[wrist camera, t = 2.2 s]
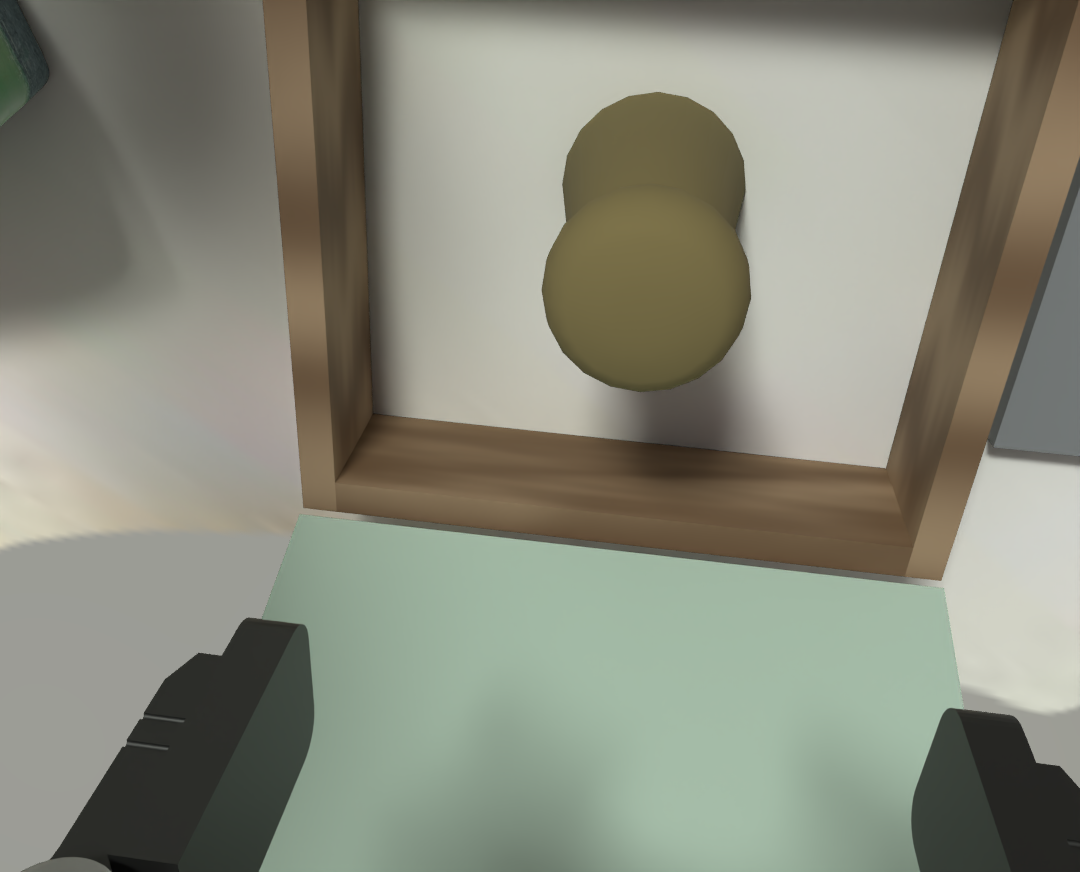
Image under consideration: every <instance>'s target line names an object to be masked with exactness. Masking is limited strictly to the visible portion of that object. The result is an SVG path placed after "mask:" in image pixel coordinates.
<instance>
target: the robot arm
mask: <svg viewBox="0 0 1080 872" xmlns="http://www.w3.org/2000/svg"><path fill="white" fill-rule="evenodd" d="M313 726H314V697H313V684H312V672H311V660H310V647H309V636H308V631H307V628H306V626H305V625H303V624H296V623H288V622H280V621H272V620H264V619H256V618H246V619H245V620H243V622H242V623H241V624H240V625H239V627H238V629H237V630H236V632H235V634H234V636H233V637H232V639H231V641H230V643H229V644H228V646H227V648H226V649H225V651H224V653H223V655H222V656H218V655H211V654H204V653H198V654H197V655H195V656H194V657H193V658H192V659H190V660H189V661H188V662H187V663H185V664H184V665H183V666H182V667H180V668H179V669H178V670H176V671H175V672H174V673H173V674H171V675H170V676H169V677H168V678H166V679H165V680H164V682H163V683H162V685H161V686H160V688H159V690H158V691H157V693H156V694H155V696H154V698H153V699H152V701H151V702H150V704H149V706H148V707H147V709H146V710H145V712H144V717H143V719H140V720H139V721H138V723H137V725H136V726H135V728H134V729H133V731H132V733H131V734H130V736H129V737H128V739H127V744H126V746H125V747H122V748H121V750H120V752H119V753H118V755H117V756H116V758H115V760H114V761H113V763H112V764H111V766H110V768H109V769H108V771H107V772H106V774H105V775H104V777H103V779H102V780H101V782H100V783H99V785H98V786H97V788H96V790H95V791H94V793H93V794H92V796H91V798H90V799H89V801H88V802H87V804H86V806H85V807H84V809H83V810H82V812H81V813H80V815H79V817H78V818H77V820H76V822H75V823H74V825H73V826H72V828H71V829H70V831H69V832H68V834H67V836H66V837H65V839H64V840H63V842H62V844H61V845H60V847H59V848H58V850H57V851H56V852H55V854H54V855H53V857H52V858H51V859H50V860H48V861H45V862H41V863H38V864H36V865H34V866H31V867H29V868H27V869H25V870H23V871H21V872H259V870H260V868H261V865H262V863H263V861H264V858H265V856H266V853H267V851H268V849H269V846H270V844H271V841H272V839H273V837H274V834H275V832H276V829H277V827H278V825H279V822H280V820H281V817H282V815H283V813H284V810H285V808H286V805H287V803H288V801H289V798H290V796H291V793H292V791H293V788H294V786H295V784H296V781H297V779H298V776H299V774H300V772H301V769H302V767H303V764H304V762H305V759H306V757H307V754H308V751H309V747H310V743H311V738H312V733H313ZM911 829H912V839H913V844H914V849H915V853H916V857H917V861H918V866H919V870H920V872H1080V788H1079V787H1078V786H1077V785H1076V784H1075V783H1074V782H1073V780H1072V779H1071V778H1070V777H1069V776H1068V775H1067V774H1066V773H1065V771H1064V770H1063V769H1062V768H1061V767H1060V766H1055V765H1047V764H1040V763H1036V761H1035V759H1034V756H1033V754H1032V751H1031V749H1030V746H1029V744H1028V741H1027V738H1026V736H1025V733H1024V731H1023V729H1022V727H1021V724H1020V723H1019V721H1018V720H1017V719H1016V718H1015V717H1014V716H1011V715H1004V714H996V713H987V712H980V711H972V710H964V709H956V708H948V709H946V711H945V712H944V713H943V715H942V717H941V719H940V722H939V725H938V727H937V730H936V733H935V736H934V738H933V741H932V744H931V747H930V750H929V752H928V755H927V758H926V761H925V764H924V766H923V769H922V772H921V775H920V777H919V780H918V783H917V786H916V789H915V792H914V796H913V802H912V811H911Z"/></svg>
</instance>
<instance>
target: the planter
mask: <svg viewBox="0 0 1080 872" xmlns="http://www.w3.org/2000/svg"><path fill="white" fill-rule="evenodd" d="M48 77H49V69H48V66H47V63H46V60H45V58H44V56H43V54H42V52H41V50H40V48H39V46H38V44H37V42H36V40H35V37H34V35H33V33H32V31H31V29H30V27H29V25H28V23H27V21H26V19H25V17H24V15H23V13H22V11H21V9H20V7H19V5H18V3H17V1H16V0H0V126H1V125H3V124H4V123H5V122H6V121H7V120H8V119H9V118H10V117H11V116H13V115H14V114H15V113H16V112H17V111H18V110H19V109H20V108H21V107H22V106H23V105H25V104H26V103H27V102H28V101H29V100H30V99H31V98H32V97H33V96H34V95H35V94H36V93H37V92H38V91H39V90H40V89H41V88H42V87H43V86H44V85H45V84H46V82H47V80H48Z"/></svg>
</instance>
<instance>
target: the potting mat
mask: <svg viewBox="0 0 1080 872" xmlns="http://www.w3.org/2000/svg"><path fill="white" fill-rule="evenodd" d="M988 438H989V440H990V442H991V444H992V446H993V447H994V448H1004V449H1014V450H1023V451H1033V452H1042V453H1052V454H1062V455H1071V456H1080V157H1079V160H1078V163H1077V166H1076V169H1075V173H1074V176H1073V179H1072V182H1071V185H1070V188H1069V191H1068V194H1067V197H1066V200H1065V203H1064V206H1063V209H1062V212H1061V215H1060V218H1059V222H1058V225H1057V228H1056V231H1055V234H1054V237H1053V240H1052V243H1051V246H1050V249H1049V252H1048V255H1047V258H1046V261H1045V264H1044V267H1043V270H1042V274H1041V277H1040V280H1039V283H1038V286H1037V289H1036V292H1035V295H1034V298H1033V301H1032V304H1031V307H1030V310H1029V313H1028V316H1027V319H1026V323H1025V326H1024V329H1023V332H1022V335H1021V338H1020V341H1019V344H1018V347H1017V350H1016V353H1015V356H1014V359H1013V362H1012V365H1011V368H1010V371H1009V375H1008V378H1007V381H1006V384H1005V387H1004V390H1003V393H1002V396H1001V399H1000V402H999V405H998V408H997V411H996V414H995V417H994V420H993V424H992V427H991V430H990V433H989V436H988Z"/></svg>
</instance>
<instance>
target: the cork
mask: <svg viewBox="0 0 1080 872" xmlns="http://www.w3.org/2000/svg"><path fill="white" fill-rule="evenodd" d="M562 185H563V194H564V204H565V214H566V223H565V224H564V226H563V228H562V230H561V231H560V233H559V235H558V237H557V239H556V241H555V243H554V244H553V246H552V248H551V250H550V252H549V255H548V257H547V260H546V266H545V273H544V279H543V285H542V295H543V301H544V307H545V313H546V318H547V322H548V325H549V327H550V329H551V331H552V333H553V335H554V337H555V339H556V340H557V342H558V344H559V346H560V348H561V350H562V352H563V353H564V354H565V355H566V356H567V357H568V358H569V359H570V360H571V361H572V362H573V363H574V364H575V365H576V366H578V367H579V368H580V369H581V370H582V371H583V372H584V373H586V374H587V375H589V376H591V377H593V378H595V379H597V380H599V381H601V382H603V383H605V384H607V385H609V386H612V387H617V388H622V389H627V390H632V391H638V392H645V391H656V390H668V389H672V388H675V387H677V386H680V385H682V384H685V383H688V382H690V381H693V380H695V379H698V378H699V377H701V376H702V375H703V374H705V373H706V372H707V371H708V370H710V369H711V368H712V367H714V366H715V365H716V364H717V363H719V362H720V361H721V360H722V359H723V358H724V356H725V355H726V353H727V352H728V350H729V349H730V348H731V346H732V345H733V343H734V342H735V340H736V339H737V337H738V336H739V334H740V332H741V330H742V328H743V325H744V321H745V318H746V314H747V311H748V307H749V304H750V300H751V289H750V273H749V264H748V260H747V257H746V255H745V252H744V250H743V248H742V245H741V243H740V241H739V238H738V236H737V234H736V231H735V229H736V225H737V221H738V217H739V213H740V209H741V205H742V201H743V197H744V193H745V190H746V189H745V173H744V160H743V158H742V155H741V153H740V150H739V148H738V146H737V143H736V141H735V138H734V136H733V134H732V133H731V131H730V130H729V129H728V128H727V127H726V126H725V125H724V124H723V122H722V121H721V120H720V119H719V118H718V117H717V116H716V114H715V113H714V112H712V111H711V110H709V109H707V108H705V107H704V106H702V105H700V104H698V103H696V102H695V101H693V100H691V99H689V98H687V97H682V96H677V95H671V94H666V93H661V92H655V93H648V94H641V95H634V96H628V97H626V98H624V99H622V100H620V101H618V102H616V103H614V104H612V105H610V106H608V107H606V108H604V109H602V110H601V111H600V112H599V113H598V114H597V115H596V116H595V117H594V118H593V119H592V120H591V121H590V122H588V123H587V124H586V125H585V126H584V127H583V128H582V129H581V130H580V132H579V134H578V136H577V138H576V140H575V142H574V144H573V146H572V148H571V150H570V151H569V153H568V155H567V160H566V166H565V172H564V178H563V184H562Z"/></svg>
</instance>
